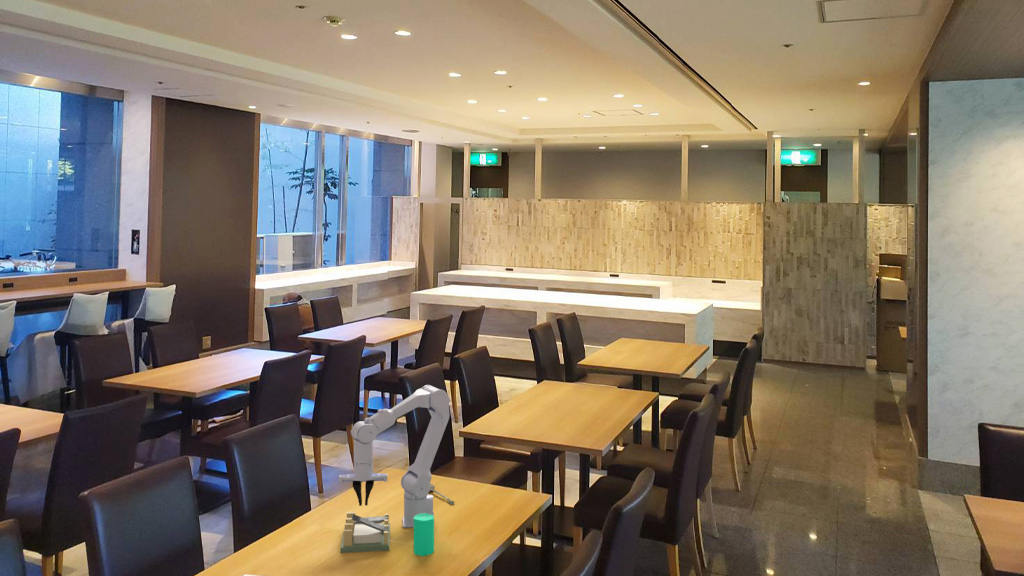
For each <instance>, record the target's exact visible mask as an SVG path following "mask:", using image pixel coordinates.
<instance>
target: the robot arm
mask: <svg viewBox="0 0 1024 576" xmlns="http://www.w3.org/2000/svg"><path fill="white" fill-rule="evenodd" d="M450 403H451V398H450V397H449V395H448V392H447V391H446V390H444V389H440V388H437V387H435V386H433V385H430V384H426V385H424V386H422V387H421V388H418V389H416V390H415V391H414V392H413V393H412V394H411V395H409V396H408V397H406V398H405V399H403V400H402V401H401V402H399V403H397V404H396V405H394V406H393V407H391V408H390V409H388V408H383V409H382V408H379V409H377V412H376V413H374V414H373V415H372V416H371V415H370V417H366V418H364V421H363V420H362V421H361V420H360V421H357V422H356V423H354V424H353V426H352V428H351V430H350V431H349V432H350V436H351V437H352V438H353V473H347V474H339V475H338V484H343V483H352V486H351V487H352V489H353V490H354V492H355V495H356V496H357V500H358V506H359V507H361V506H363V505H362V504H363V496H362V495H363V494H362V482H363V483H364V482H365V485H364V486H365V487H364V488H365V500H364V506H366V507H367V506H368V503H369V497H370V494H371V492H372V490H373V488H374V485H375V482H388V473H387V472H385V473H380V472H379V473H378V472H374V464H373V463H374V460H373V459H374V455H373V454H374V453H373V451H374V449H373V448H374V446H373V445H374V444H373V442H374V440H375V439H376V438H377V437H376V436H377V435H379V434H380V433H382V432H384V431H385V430H387V429H389V428H390V427H391V426H393V425H395V422H396V420H397V419H398V418H400V417H402V416H403V415H406V414H408V413H409V412H411V411H413V410H414V409H416V408H424V409H425V408H427V410H428V412H429V414H430V416H431V418H430V420H429V423H428V426H427V428H426V430H425V433H424V436H423V440H422V442H421V444H420V447H419V449H418V452H417V455H416V458H415V460H414V463H412V464H411V465H410V466H408V468H407V469H406V470H407V471H405V473H404V474H403V475H402V477H401V479H400V485H401V488H402V489H403V490H404V493H403V517H402V528H404V529H405V528H414V517H415V516H416V515H418V514H422V513H427V514H430V515H434V516H435V513H434V495H433V494H429V493H430V491H431V490H430V484H431V480H432V477H433V476H432V472H431V467H432V465H433V463H434V460H435V456H436V454H437V452H438V450H439V446H440V443H441V441H442V438H443V435H444V432H445V430H446V427H447V425H448V422H449V420H450V417H451V416H450Z"/></svg>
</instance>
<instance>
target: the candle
mask: <svg viewBox="0 0 1024 576" xmlns="http://www.w3.org/2000/svg"><path fill="white" fill-rule="evenodd" d="M433 552H434V553H435V514H434V515H430V514H427V513H422V514H418V515H416V516H415V517H414V527H413V554H414V555H416V556H418V555H420V556H419V557H426V556H425V555H428V556H430V555H429V554H431V555H432V553H433ZM434 553H433V554H434Z"/></svg>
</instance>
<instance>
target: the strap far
mask: <svg viewBox="0 0 1024 576" xmlns="http://www.w3.org/2000/svg"><path fill="white" fill-rule="evenodd" d="M363 518H365V519H367V520H370V521H372V522H382V523H384V520H385V519H388V516H385V515H383V516H381V515H380V516H367V517H363ZM357 523H359V522H356V521H354V524H357Z"/></svg>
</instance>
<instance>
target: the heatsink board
mask: <svg viewBox="0 0 1024 576" xmlns="http://www.w3.org/2000/svg"><path fill="white" fill-rule="evenodd" d="M353 514H355V515H356V511H347V512H346V517H345V523H344V527H343V532H342V539H341V544H340V554H346V553H349V554H350V553H365V552H366V553H367V552H385V551H390V545H391V544H390V543H391V542H390V540H391V539H390V538H391V523H390V520H389V519H390V518H389V516H390V514H389V513H384V516H388V519H385V520H384V522H375V523H377V524H380V525H382V526H385V527H388V531H384V532H381V531H379V530H376V529H374V528H371V527H369V526H366V525H364V524H361V523H357V524H354V520H352V515H353Z"/></svg>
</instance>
